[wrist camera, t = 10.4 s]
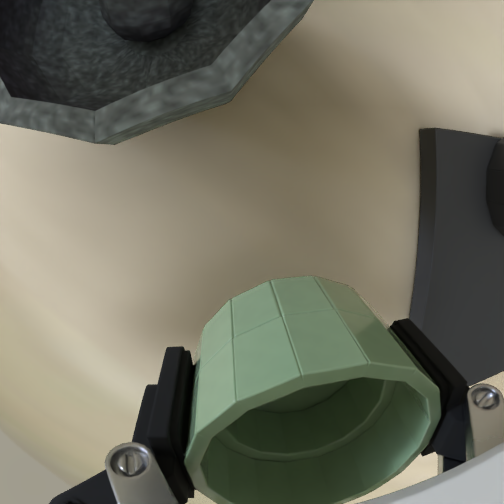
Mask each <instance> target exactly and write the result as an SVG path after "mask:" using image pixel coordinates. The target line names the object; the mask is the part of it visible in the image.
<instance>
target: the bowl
mask: <svg viewBox="0 0 504 504" xmlns="http://www.w3.org/2000/svg"><path fill="white" fill-rule="evenodd" d="M440 418H441V403H440V390H439V387H438V386H437V385H436V384H435V382H434V381H433V380H432V378H431V377H430V376H429V375H428V373H427V372H426V371H425V370H424V368H423V367H422V366H421V365H420V363H419V362H418V361H417V360H416V358H415V357H414V356H413V355H412V353H411V352H410V351H409V350H408V348H407V347H406V346H405V345H404V344H403V342H402V341H401V340H400V339H399V338H398V336H397V335H396V334H395V333H394V332H393V330H392V329H391V328H390V327H389V326H388V324H387V323H386V322H385V321H384V320H383V318H382V317H381V316H380V315H379V314H378V313H377V311H376V310H375V309H374V308H373V307H372V306H371V305H370V304H369V303H368V302H367V301H366V300H365V299H364V298H363V297H362V296H361V295H359V294H358V293H357V292H356V291H355V290H354V289H353V288H351V287H349V286H348V285H344V284H341V283H338V282H334V281H331V280H327V279H324V278H321V277H317V276H314V277H313V276H302V277H292V278H282V279H272V280H271V281H267V282H265V283H263V284H261V285H258V286H256V287H254V288H252V289H250V290H248V291H246V292H244V293H242V294H240V295H238V296H235V297H233V298H232V299H229V300H228V302H227V303H226V304H225V305H224V306H223V307H222V308H221V309H220V310H219V311H218V312H217V313H216V314H215V315H214V317H213V318H212V319H211V320H210V321H209V322H208V323H207V324H206V325H205V326H204V329H203V331H202V334H201V337H200V340H199V343H198V347H197V350H196V353H195V356H194V363H193V372H192V381H191V390H190V402H189V409H188V419H187V430H186V441H185V453H184V465H185V467H186V470H187V472H188V474H189V477H190V479H191V481H192V484H193V486H194V488H195V489H196V490H198V491H199V492H201V493H202V494H204V495H205V496H207V497H208V498H210V499H211V500H213V501H214V502H216V503H217V504H344V503H346V502H349V501H351V500H354V499H356V498H359V497H361V496H364V495H366V494H368V493H369V492H372V491H374V490H375V489H377V488H378V487H380V486H382V485H383V484H385V483H386V482H388V481H389V480H391V479H392V478H394V477H395V476H397V475H398V474H400V473H401V472H402V471H404V470H405V469H406V468H407V467H408V466H409V465H410V463H411V462H412V461H413V460H414V459H415V458H416V457H417V456H418V455H419V454H420V453H421V452H422V451H423V450H424V449H425V448H426V446H427V445H428V443H429V441H430V439H431V437H432V435H433V433H434V431H435V429H436V427H437V425H438V423H439V421H440Z"/></svg>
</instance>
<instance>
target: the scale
mask: <svg viewBox="0 0 504 504" xmlns="http://www.w3.org/2000/svg"><path fill="white" fill-rule="evenodd" d="M420 151H421V201H420V225H419V240H418V253H417V263H416V273H415V281H414V289H413V297H412V304H411V310H410V317H409V319H410V320H411V321H412V322H413V323H414V324H415V325H416V326H417V327H418V328H419V329H420V330H421V331H422V332H423V333H424V335H425V336H426V337H427V338H428V339H429V340H430V341H431V342H432V343H433V344H434V345H435V346H436V347H437V349H438V350H439V351H440V352H441V353H442V354H443V355H444V356H445V357H446V358H447V359H448V361H449V362H450V363H451V364H452V365H453V366H454V367H455V368H456V369H457V371H458V372H459V373H460V374H461V375H462V376H463V377H464V379H465V380H466V381H467V382H468V383H467V386H468V387H469V386H471V385H473V384H476V383H478V382H480V381H483V380H485V379H487V378H489V377H492V376H494V375H496V374H498V373H500V372H502V371H504V138H497V137H492V136H486V135H481V134H475V133H469V132H462V131H456V130H449V129H441V128H424V129H420Z"/></svg>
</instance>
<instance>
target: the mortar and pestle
mask: <svg viewBox="0 0 504 504" xmlns="http://www.w3.org/2000/svg"><path fill="white" fill-rule="evenodd" d="M313 1H314V0H0V123H1V124H7V125H12V126H17V127H22V128H27V129H32V130H37V131H42V132H47V133H51V134H56V135H61V136H65V137H69V138H74V139H78V140H82V141H87V142H91V143H96V144H111V145H115V144H118V143H120V142H123V141H125V140H128V139H131V138H133V137H135V136H138V135H140V134H143V133H145V132H148V131H150V130H153V129H155V128H158V127H160V126H163V125H165V124H168V123H171V122H173V121H176V120H179V119H181V118H184V117H187V116H190V115H193V114H196V113H199V112H202V111H205V110H208V109H211V108H214V107H217V106H220V105H223V104H226V103H228V102H230V101H231V100H232V99H233V98H234V96H235V95H236V94H237V93H238V91H239V90H240V89H241V88H242V87H243V85H244V84H245V83H246V82H247V80H248V79H249V78H250V77H251V76H252V74H253V73H254V72H255V71H256V70H257V69H258V67H259V66H260V65H261V64H262V63H263V62H264V60H265V59H266V58H267V57H268V56H269V55H270V54H271V52H272V51H273V50H274V49H275V48H276V47H277V46H278V45H279V43H280V42H281V41H282V40H283V39H284V38H285V37H286V36H287V35H288V34H289V33H290V31H291V30H292V29H293V28H294V27H295V26H296V25H297V24H298V23H299V22H300V21H301V20H302V18H303V17H304V15H305V14H306V12H307V10H308V9H309V7H310V6H311V4H312V2H313Z"/></svg>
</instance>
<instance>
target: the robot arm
mask: <svg viewBox="0 0 504 504" xmlns="http://www.w3.org/2000/svg"><path fill="white" fill-rule="evenodd" d="M390 328H391V329H392V330H393V332H394V333H395V334H396V335H397V336H398V338H399V339H400V340H401V341H402V342H403V344H404V345H405V346H406V347H407V348H408V350H409V351H410V352H411V353H412V355H413V356H414V357H415V358H416V360H417V361H418V362H419V363H420V365H421V366H422V367H423V368H424V370H425V371H426V372H427V373H428V375H429V376H430V377H431V378H432V380H433V381H434V382H435V384H436V385H437V386H438V387H439V390H440V403H441V418H440V421H439V423H438V425H437V427H436V429H435V431H434V433H433V435H432V437H431V439H430V441H429V443H428V445H427V446H426V448H425V449H424V450H423V451H422V452H421V455H422V456H425V455H428V454H430V453H433V452H436V453H437V454H438V475H437V476H435V477H432V478H430V479H427V480H425V481H422V482H420V483H417V484H415V485H412V486H409V487H407V488H404V489H401V490H398V491H396V492H393V493H390V494H387V495H384V496H380V497H377V498H374V499H371V500H367V501H364V502H360V503H356V504H504V398H503V395H502V393H501V392H500V391H499V390H498V389H497V388H496V387H494V386H492V385H489V384H483V383H482V384H476V385H474V386H472V387H471V388H469V387H468V386H467V383H468V382H467V381H466V380H465V379H464V377H463V376H462V375H461V374H460V373H459V372H458V371H457V369H456V368H455V367H454V366H453V365H452V364H451V363H450V362H449V361H448V359H447V358H446V357H445V356H444V355H443V354H442V353H441V352H440V351H439V350H438V349H437V347H436V346H435V345H434V344H433V343H432V342H431V341H430V340H429V339H428V338H427V337H426V336H425V335H424V333H423V332H422V331H421V330H420V329H419V328H418V327H417V326H416V325H415V324H414V323H413V322H412V321H411V320H410V319H402V320H397V321H394V322H393V324H392V325H391V326H390ZM192 372H193V363H192V358H191V353H190V351H189V350H187V351H185V350H184V347H167V348H166V352H165V356H164V360H163V364H162V368H161V372H160V377H159V381H158V385H147V386H146V389H145V392H144V396H143V400H142V403H141V407H140V411H139V415H138V419H137V423H136V427H135V431H134V435H133V439H132V442H128V443H122V444H120V445H118V446H116V447H114V448H113V449H112V450H110V452H109V453H108V455H107V456H106V459H105V468H106V469H105V470H104V471H102V472H100V473H98V474H97V475H95V476H93V477H91V478H90V479H88V480H86V481H84V482H82V483H80V484H79V485H77V486H75V487H73V488H71V489H69V490H67V491H65V492H64V493H61V494H60V495H58V496H56V497H55V498H53V499H52V500H51V502H50V503H49V504H185V503H186V502H188V498H194V490H196V489H195V488H194V486H193V484H192V481H191V479H190V477H189V474H188V472H187V470H186V467H185V465H184V453H185V441H186V430H187V419H188V409H189V402H190V390H191V381H192Z"/></svg>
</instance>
